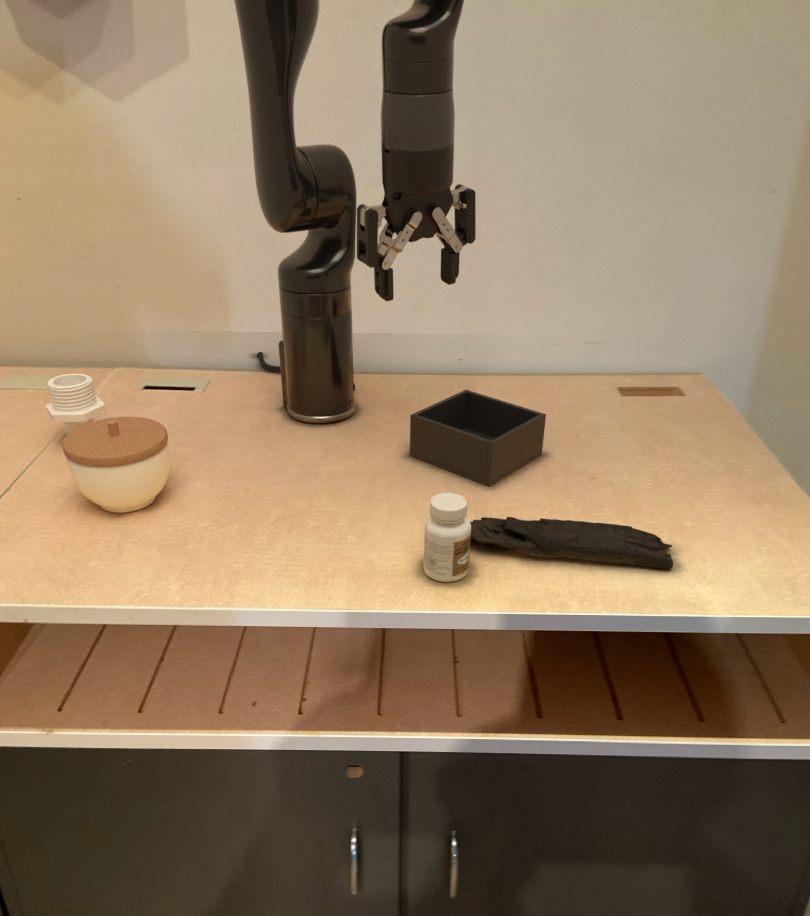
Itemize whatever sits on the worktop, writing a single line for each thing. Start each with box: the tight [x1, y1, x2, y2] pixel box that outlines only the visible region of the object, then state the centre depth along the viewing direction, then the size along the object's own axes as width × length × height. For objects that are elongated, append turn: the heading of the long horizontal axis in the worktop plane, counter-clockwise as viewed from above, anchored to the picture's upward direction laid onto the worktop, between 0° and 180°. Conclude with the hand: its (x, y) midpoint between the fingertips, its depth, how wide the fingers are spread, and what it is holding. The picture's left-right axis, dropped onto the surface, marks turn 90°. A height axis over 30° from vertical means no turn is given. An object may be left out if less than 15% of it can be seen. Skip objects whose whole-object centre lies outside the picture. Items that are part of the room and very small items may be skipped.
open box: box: [409, 389, 547, 487], centre depth 97 cm, size 12×11×6 cm
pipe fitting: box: [45, 373, 107, 435], centre depth 99 cm, size 6×7×8 cm
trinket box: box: [61, 416, 170, 514], centre depth 86 cm, size 11×11×9 cm
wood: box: [470, 516, 675, 570], centre depth 80 cm, size 22×7×3 cm, turn 82°
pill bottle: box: [423, 492, 471, 583], centre depth 75 cm, size 4×4×8 cm
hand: (417, 290), depth 92 cm, fingers open, 8 cm apart
